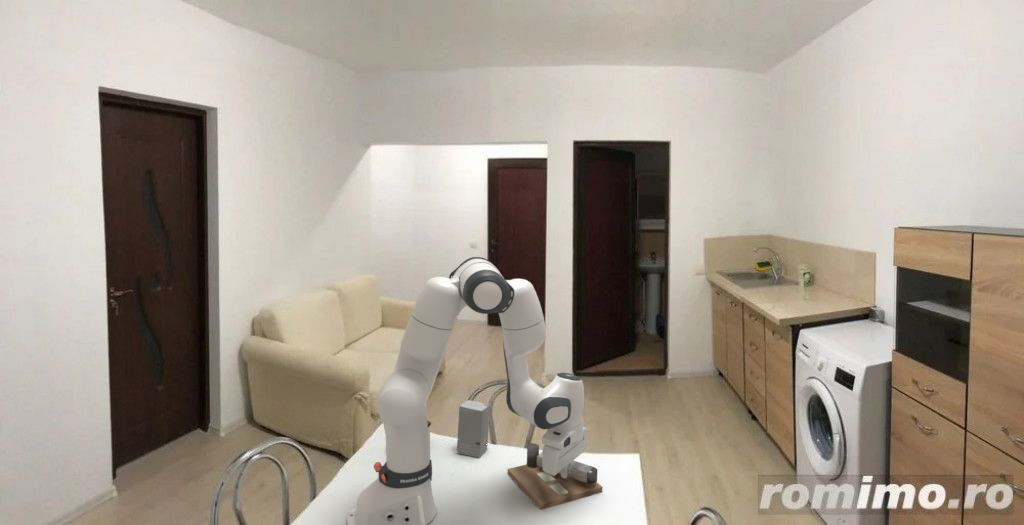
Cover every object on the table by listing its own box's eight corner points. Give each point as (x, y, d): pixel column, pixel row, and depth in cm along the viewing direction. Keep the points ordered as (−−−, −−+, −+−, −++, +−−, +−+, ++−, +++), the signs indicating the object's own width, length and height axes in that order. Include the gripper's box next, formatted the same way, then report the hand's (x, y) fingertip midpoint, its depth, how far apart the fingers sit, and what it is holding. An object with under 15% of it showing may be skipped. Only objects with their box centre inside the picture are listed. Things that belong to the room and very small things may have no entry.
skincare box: (456, 453, 172) (456, 406, 170) (466, 444, 179) (466, 398, 177) (480, 459, 169) (480, 411, 167) (489, 449, 176) (490, 402, 174)
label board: (540, 509, 143) (541, 483, 142) (506, 472, 161) (506, 448, 160) (602, 491, 152) (603, 466, 151) (563, 458, 170) (563, 436, 169)
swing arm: (536, 465, 160) (536, 455, 159) (543, 459, 163) (543, 450, 163) (593, 485, 150) (593, 475, 149) (599, 478, 153) (599, 469, 153)
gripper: (574, 414, 161) (573, 458, 163) (538, 439, 145) (537, 488, 146) (594, 420, 158) (592, 464, 159) (559, 446, 141) (557, 495, 143)
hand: (565, 476), depth 153 cm, fingers closed
